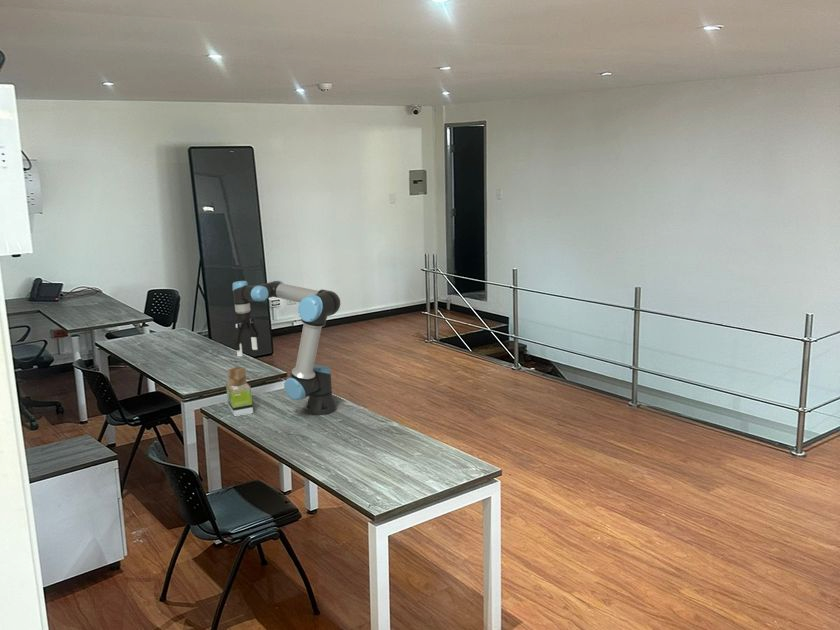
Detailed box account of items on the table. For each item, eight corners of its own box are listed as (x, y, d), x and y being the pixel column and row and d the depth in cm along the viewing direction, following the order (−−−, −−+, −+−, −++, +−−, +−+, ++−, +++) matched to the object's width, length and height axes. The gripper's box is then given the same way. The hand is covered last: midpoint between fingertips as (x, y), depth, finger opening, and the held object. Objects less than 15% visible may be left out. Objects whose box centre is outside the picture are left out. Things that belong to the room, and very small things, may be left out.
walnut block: (246, 382, 385) (244, 367, 384) (239, 386, 380) (237, 370, 378) (236, 382, 388) (235, 367, 386) (229, 385, 382) (227, 370, 381)
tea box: (228, 409, 391) (225, 382, 388) (247, 406, 395) (244, 379, 393) (234, 417, 378) (231, 389, 375) (254, 414, 382) (251, 386, 379)
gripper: (250, 307, 393) (254, 346, 397) (222, 316, 370) (227, 358, 374) (262, 307, 390) (267, 347, 394) (235, 316, 368) (240, 359, 372)
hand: (247, 352), depth 384 cm, fingers open, 13 cm apart
